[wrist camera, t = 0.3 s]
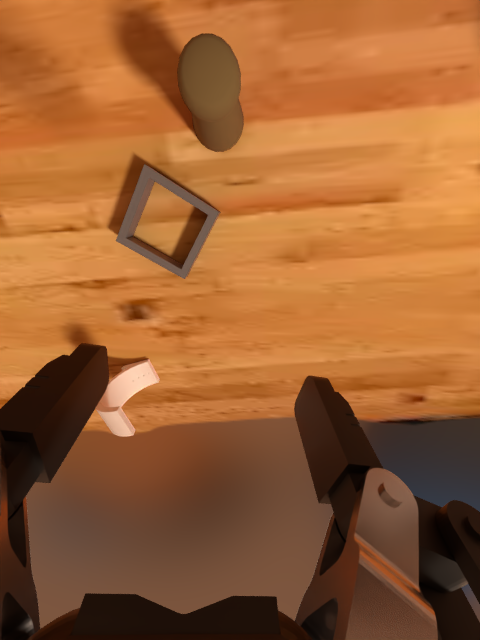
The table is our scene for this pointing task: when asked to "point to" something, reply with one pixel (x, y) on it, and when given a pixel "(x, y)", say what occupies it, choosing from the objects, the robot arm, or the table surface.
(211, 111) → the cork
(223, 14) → the table surface
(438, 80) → the table surface
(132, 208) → the square frame
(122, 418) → the white curved bracket
